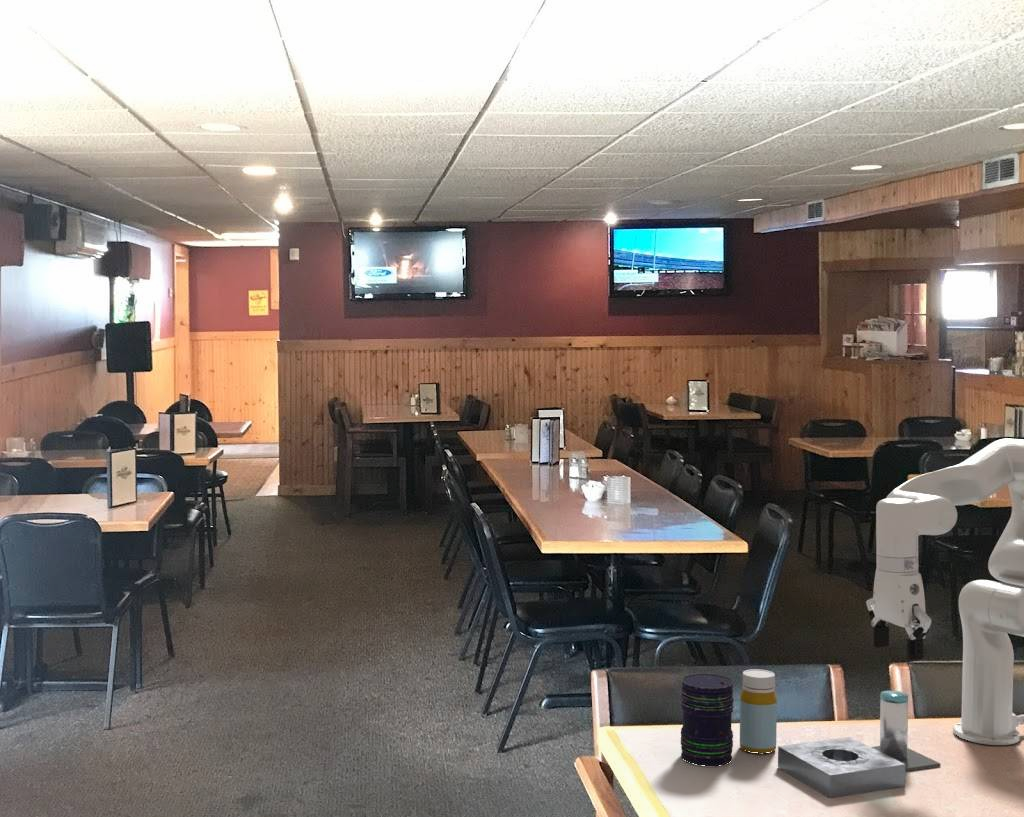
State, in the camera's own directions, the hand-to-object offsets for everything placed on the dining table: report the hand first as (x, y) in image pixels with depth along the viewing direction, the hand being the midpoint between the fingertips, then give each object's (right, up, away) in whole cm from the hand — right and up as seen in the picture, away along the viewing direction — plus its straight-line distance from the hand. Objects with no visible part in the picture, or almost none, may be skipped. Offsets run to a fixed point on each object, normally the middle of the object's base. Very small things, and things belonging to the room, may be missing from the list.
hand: (897, 652), depth 222 cm
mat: (-1, -21, +1) cm, 21 cm away
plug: (-1, -20, +1) cm, 20 cm away
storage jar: (-36, -21, +1) cm, 42 cm away
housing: (-13, -21, -9) cm, 26 cm away
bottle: (-25, -20, +6) cm, 33 cm away
